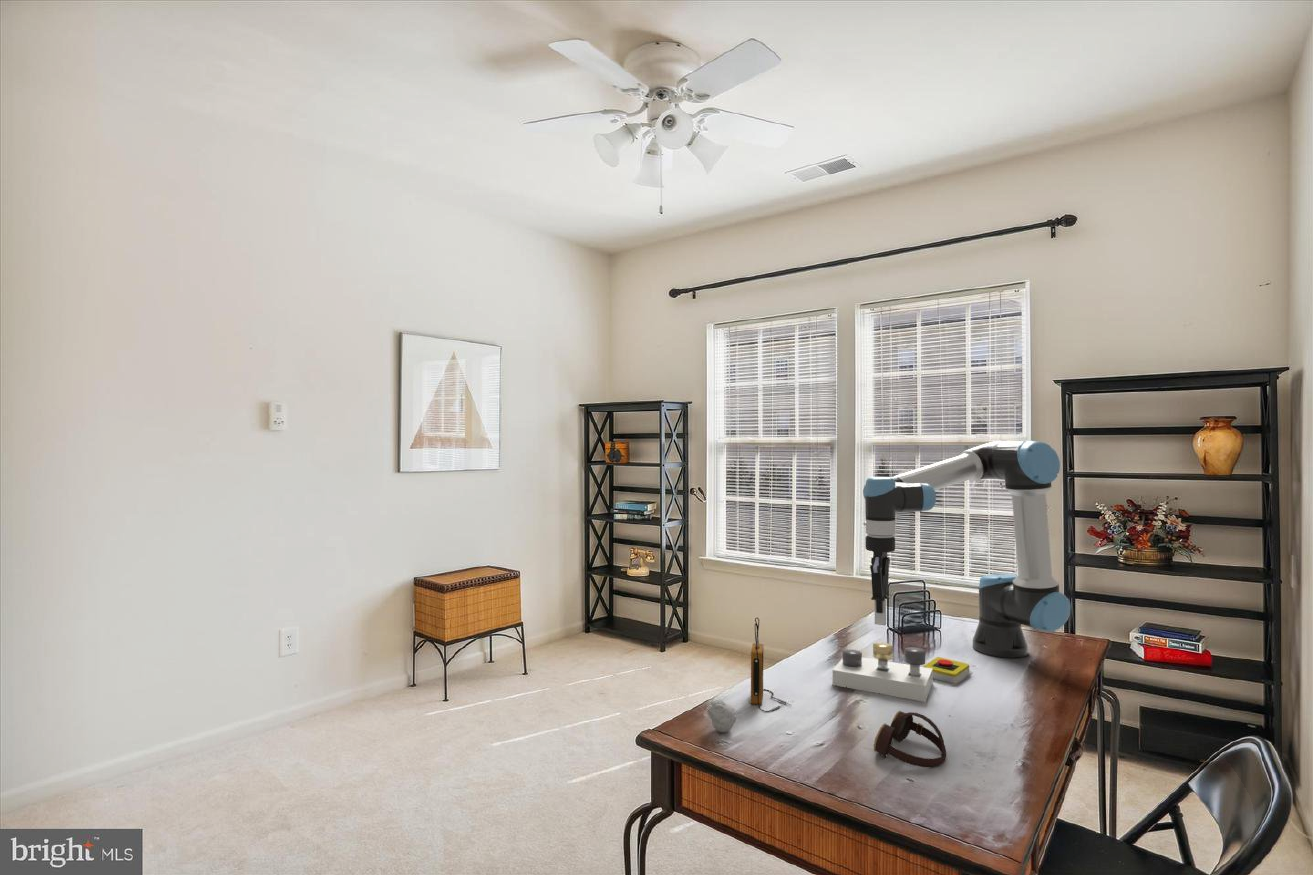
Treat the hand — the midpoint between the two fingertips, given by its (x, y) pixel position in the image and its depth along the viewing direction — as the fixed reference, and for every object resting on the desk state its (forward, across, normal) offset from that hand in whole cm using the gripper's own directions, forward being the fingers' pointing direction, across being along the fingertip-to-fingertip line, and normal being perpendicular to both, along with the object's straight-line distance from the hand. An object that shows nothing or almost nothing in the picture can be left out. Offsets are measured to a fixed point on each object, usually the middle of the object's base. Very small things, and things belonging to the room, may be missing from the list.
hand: (880, 624), depth 181 cm
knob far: (+16, +1, -7) cm, 18 cm away
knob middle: (+13, 0, +1) cm, 13 cm away
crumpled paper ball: (+16, +48, -24) cm, 56 cm away
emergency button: (+17, -16, +14) cm, 27 cm away
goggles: (+16, +37, +14) cm, 43 cm away
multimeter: (+16, +26, -21) cm, 37 cm away
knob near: (+13, 0, +9) cm, 16 cm away
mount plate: (+16, 0, +1) cm, 16 cm away
